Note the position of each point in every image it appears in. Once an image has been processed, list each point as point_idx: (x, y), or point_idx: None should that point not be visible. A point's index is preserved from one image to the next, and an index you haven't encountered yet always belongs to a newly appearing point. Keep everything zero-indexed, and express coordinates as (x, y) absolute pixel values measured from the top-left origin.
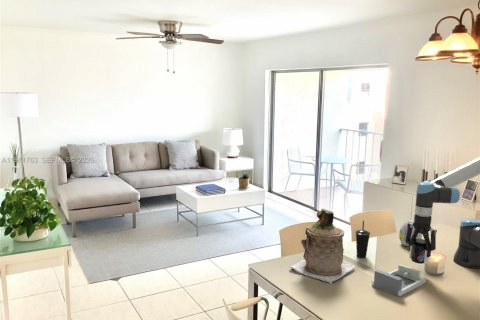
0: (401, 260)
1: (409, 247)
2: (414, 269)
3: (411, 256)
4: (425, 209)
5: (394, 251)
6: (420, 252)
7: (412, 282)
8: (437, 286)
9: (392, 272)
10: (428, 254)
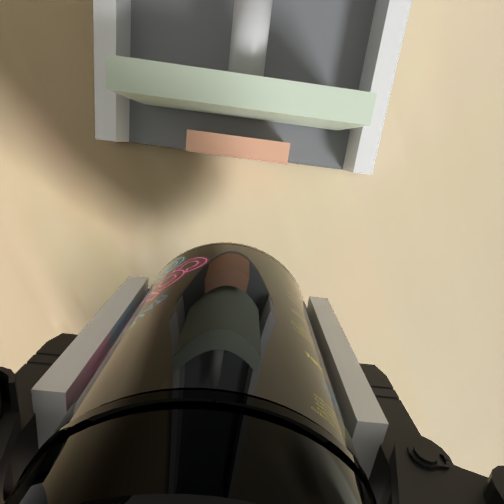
0: (407, 406)
1: (389, 405)
2: (181, 93)
3: (304, 302)
4: None
5: None
6: (148, 317)
7: (184, 45)
8: (22, 149)
9: (387, 26)
10: (45, 362)
